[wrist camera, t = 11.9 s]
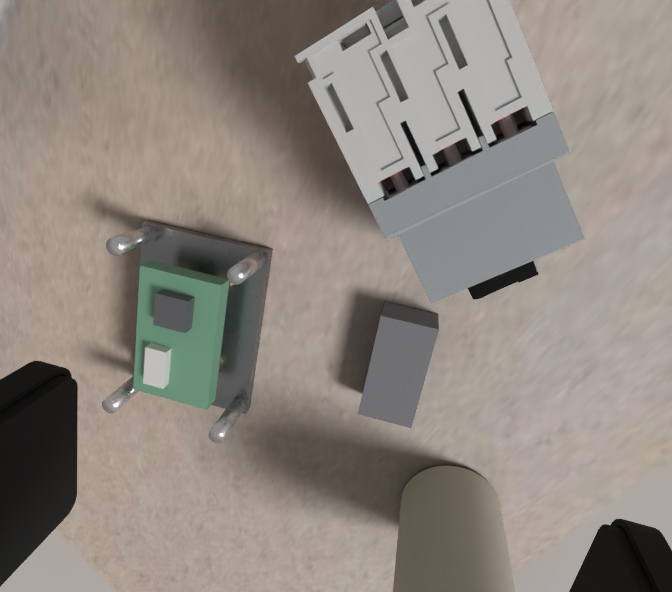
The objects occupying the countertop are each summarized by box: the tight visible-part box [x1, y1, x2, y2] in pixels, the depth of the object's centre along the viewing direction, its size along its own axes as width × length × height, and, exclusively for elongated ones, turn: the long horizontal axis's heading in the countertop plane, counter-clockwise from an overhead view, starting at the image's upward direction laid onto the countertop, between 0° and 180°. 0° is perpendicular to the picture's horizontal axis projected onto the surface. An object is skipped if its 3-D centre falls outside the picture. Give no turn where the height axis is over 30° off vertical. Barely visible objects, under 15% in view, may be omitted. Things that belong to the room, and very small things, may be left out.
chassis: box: [102, 220, 273, 443], centre depth 38 cm, size 14×10×6 cm
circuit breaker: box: [295, 0, 584, 303], centre depth 26 cm, size 8×14×15 cm, turn 28°
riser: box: [358, 302, 439, 428], centre depth 37 cm, size 8×4×3 cm, turn 170°
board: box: [133, 260, 229, 409], centre depth 37 cm, size 10×6×2 cm, turn 169°
